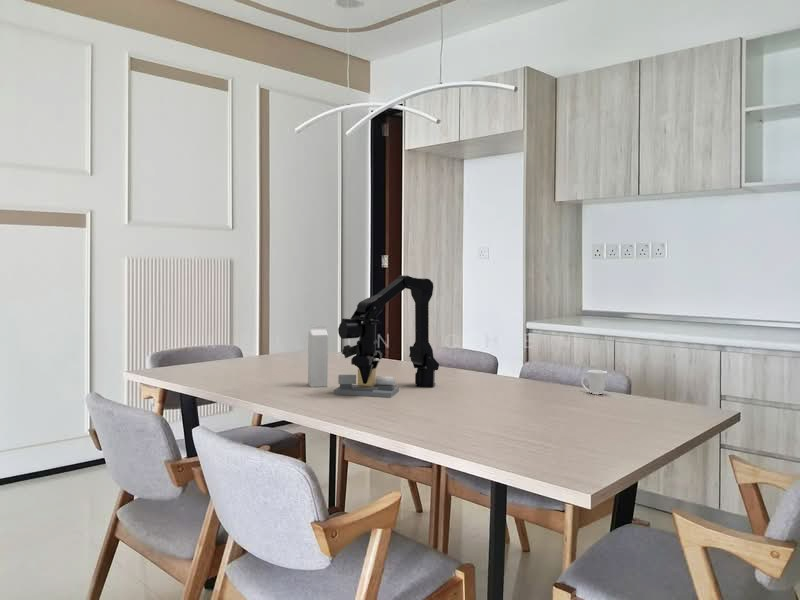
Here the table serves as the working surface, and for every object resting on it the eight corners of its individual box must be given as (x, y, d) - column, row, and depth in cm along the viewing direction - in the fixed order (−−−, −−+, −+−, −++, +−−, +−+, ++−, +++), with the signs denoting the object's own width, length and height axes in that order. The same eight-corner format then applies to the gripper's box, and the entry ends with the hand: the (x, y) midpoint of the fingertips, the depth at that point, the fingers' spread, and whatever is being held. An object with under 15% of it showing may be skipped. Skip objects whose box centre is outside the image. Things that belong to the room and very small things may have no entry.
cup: (599, 396, 222) (600, 373, 222) (575, 392, 230) (576, 369, 230) (611, 394, 226) (611, 371, 226) (587, 390, 234) (587, 368, 234)
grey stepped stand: (398, 391, 226) (398, 374, 225) (390, 397, 214) (391, 379, 214) (344, 388, 230) (344, 371, 230) (333, 394, 218) (333, 376, 218)
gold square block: (375, 385, 224) (375, 367, 223) (371, 387, 219) (372, 369, 219) (361, 384, 225) (361, 366, 225) (357, 386, 220) (357, 368, 220)
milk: (307, 384, 236) (308, 325, 236) (323, 384, 239) (324, 324, 238) (311, 387, 231) (311, 326, 230) (327, 386, 233) (328, 326, 232)
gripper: (352, 334, 232) (352, 377, 233) (336, 339, 214) (336, 385, 214) (382, 335, 230) (382, 378, 230) (369, 340, 211) (368, 387, 212)
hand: (366, 382), depth 222 cm, fingers closed on gold square block, 5 cm apart
